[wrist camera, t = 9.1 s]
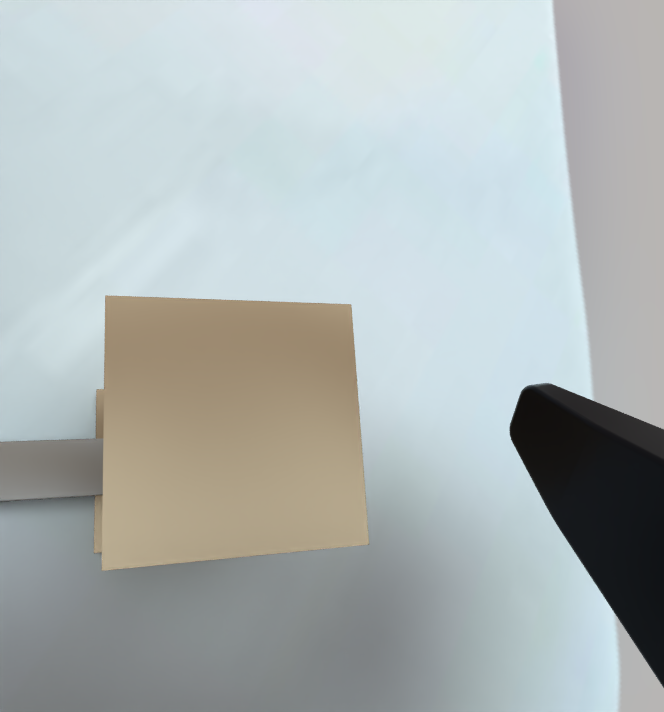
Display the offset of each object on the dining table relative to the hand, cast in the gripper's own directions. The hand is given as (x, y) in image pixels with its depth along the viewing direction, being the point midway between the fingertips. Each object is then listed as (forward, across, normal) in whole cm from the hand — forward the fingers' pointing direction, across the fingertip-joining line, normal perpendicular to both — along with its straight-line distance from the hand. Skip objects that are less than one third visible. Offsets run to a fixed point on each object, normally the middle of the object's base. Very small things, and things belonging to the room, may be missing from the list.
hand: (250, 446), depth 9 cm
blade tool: (+10, +6, +8) cm, 14 cm away
